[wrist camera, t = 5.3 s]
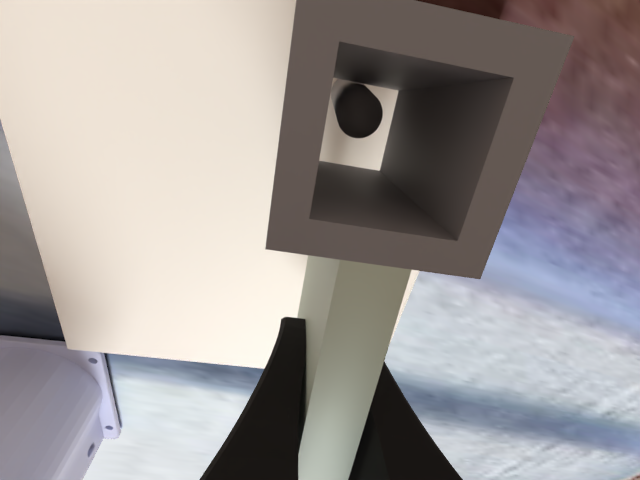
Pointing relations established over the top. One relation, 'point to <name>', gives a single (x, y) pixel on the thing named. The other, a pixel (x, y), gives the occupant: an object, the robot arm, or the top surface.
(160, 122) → the board
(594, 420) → the top surface
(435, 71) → the door leaf
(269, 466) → the robot arm
